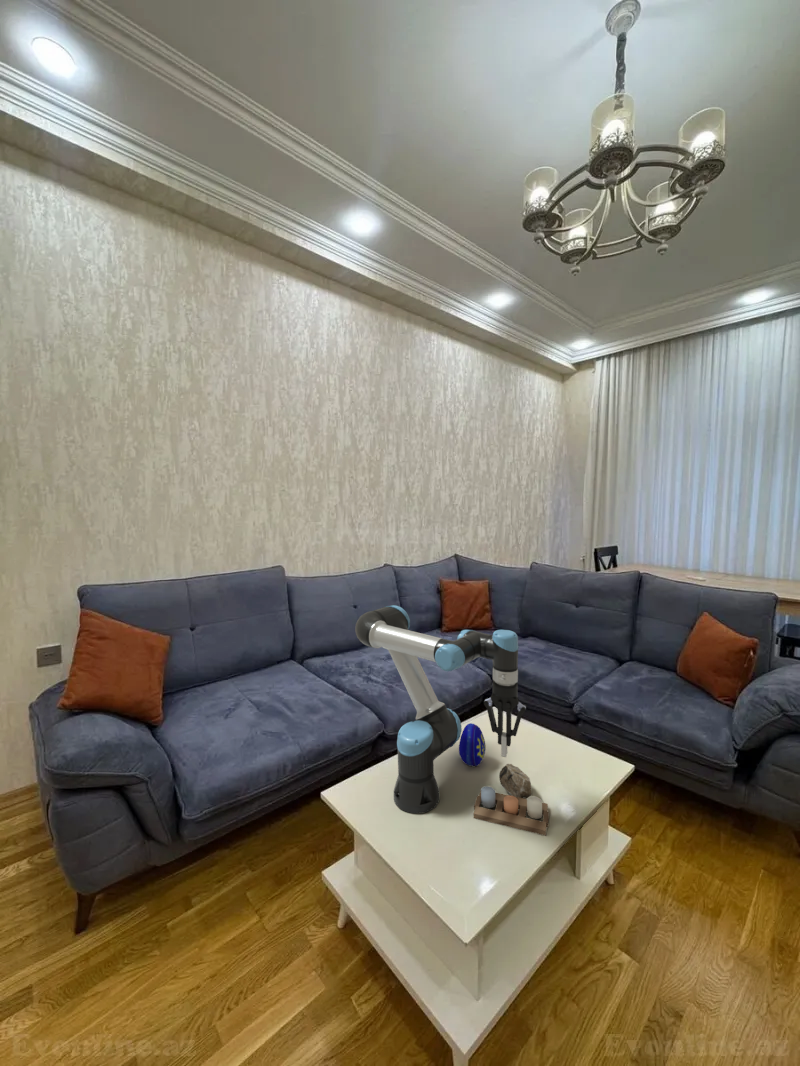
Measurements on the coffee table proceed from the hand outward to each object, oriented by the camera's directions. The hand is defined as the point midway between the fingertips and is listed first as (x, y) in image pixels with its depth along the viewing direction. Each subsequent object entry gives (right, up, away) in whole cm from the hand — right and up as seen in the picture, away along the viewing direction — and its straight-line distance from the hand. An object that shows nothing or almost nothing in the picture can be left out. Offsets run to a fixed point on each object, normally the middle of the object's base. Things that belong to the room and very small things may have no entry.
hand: (504, 754), depth 134 cm
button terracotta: (+2, -18, -1) cm, 18 cm away
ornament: (-6, -17, +25) cm, 31 cm away
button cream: (+8, -16, -4) cm, 18 cm away
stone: (+6, -17, +9) cm, 21 cm away
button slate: (-5, -16, +1) cm, 17 cm away
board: (+2, -18, -1) cm, 18 cm away
